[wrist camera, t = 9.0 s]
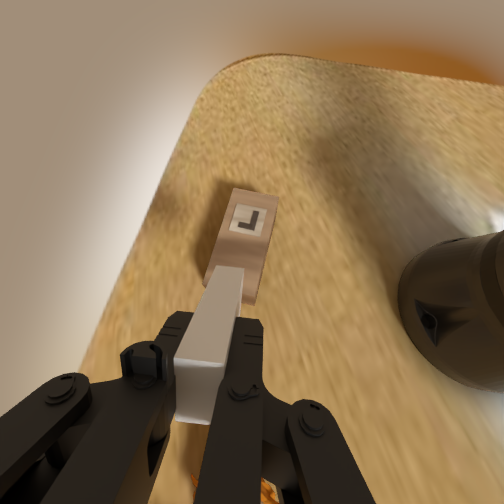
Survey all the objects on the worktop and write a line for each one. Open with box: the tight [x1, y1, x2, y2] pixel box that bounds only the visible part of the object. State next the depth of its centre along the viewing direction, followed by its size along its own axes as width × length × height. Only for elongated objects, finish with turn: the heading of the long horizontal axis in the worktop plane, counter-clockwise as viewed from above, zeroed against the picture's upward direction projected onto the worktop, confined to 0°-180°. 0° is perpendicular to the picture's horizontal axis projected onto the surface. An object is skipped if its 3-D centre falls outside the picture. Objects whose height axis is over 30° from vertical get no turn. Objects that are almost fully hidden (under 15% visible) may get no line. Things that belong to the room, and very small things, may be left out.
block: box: [202, 188, 279, 306], centre depth 27 cm, size 5×5×11 cm
